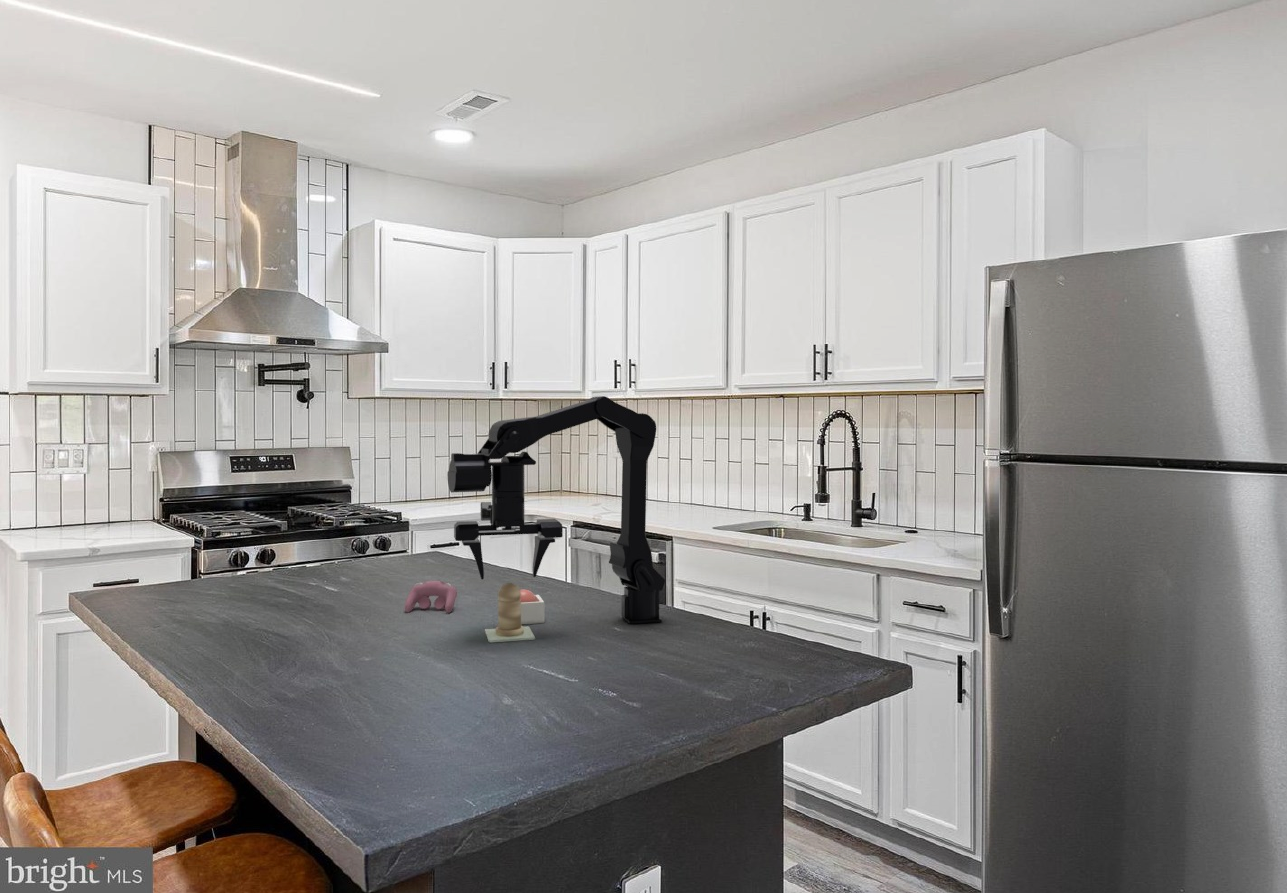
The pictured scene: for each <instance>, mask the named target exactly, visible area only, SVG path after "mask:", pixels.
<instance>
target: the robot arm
mask: <svg viewBox="0 0 1287 893" xmlns="http://www.w3.org/2000/svg"><path fill="white" fill-rule="evenodd" d="M595 420H597V421H599V422H600V423H601V424H602V425H604V426H605V427H606V428H607V429H609V430H611V431H613V432H615V440H616V446H617V449H618V452H619V454H620V458H621V461H622V463H621V464H622V467H621V468H622V470H621V471H622V472H621V473H622V474H621V513H620V514H621V515H620V516H621V518H620V520H621V521H620V535H619V537H618V539H617V541H616V542H610V543H609V550H610V557H609V561H608V564H611V568H612V571H613V572H612V573H614V574H615V575H616V576H617V577H619V580H620V584H621V585H622V586H624V587H623V594H622V595H621V596H620V597H621V600H620V601H621V604H620V605H621V608H620V609H621V617H622V619H624V620H625V621H626V622H627V623H628V624H642V623H643V624H644V623H645V624H646V623H658V622H659V623H660V622H663V618H662V617H661V616H660V591H663V589H664V586H665V584H666V578H664V577H663V576H662V575H661V574H660V573H659V572H658V571H657V570H656V569H655V568H654V562H653V554H652V548H651V547H650V545H649V541H648V538H647V536H646V527H647V526H646V524H647V523H646V519H647V518H646V517H647V479H648V478H647V477H648V476H647V474H648V473H647V470H648V459H649V457H650V455H651V453H652V452H653V448H654V445H655V441H656V435H657V423H656V421H655V420H654V419H653V417H651V415H650V414H649V415H648V413H643V412H642V413H640V412H639V413H638V412H635V411H634V410H632V409H630V408H628V407H626V406H624V405H622V404H619V403H617V402H615V401H614V400H612V399H611V398H609V397H608V396H605V395H604V396H603V395H601V396H600V395H599V396H592V397H590V398H589V399H587V400H584V401H580V402H578V403H574V404H571V405H568V406H564V407H561V408H558V409H555V410H552V411H548V412H546V413H542V414H540V415H536V416H530V417H521V418H519V417H518V418H511V419H503V420H498V421H497V422H495V423H493V424H491V427H490V428H489V431H488V435H487V436H488V438H487V440H485V442H484V444H483V445H482V447H481V448H480V449H479V451H478V452H477V453H458V452H455V453H454V452H453V453H451V454H450V456H451V457H450V462H449V466H448V471H447V473H446V474H447V485H448V489H449V492H450V493H474V492H476V493H477V492H485V491H486V488H487V487H490V486H491V501H481V502H480V521H487V522H488V521H489V524H482V525H479V523H478V522H477V521H478V520H471V521H469V520H468V521H467V520H466V521H456V523H455V524H454V525H453V538H454V540H455V541H456V542H461V543H462V545H463V546H464V547H466V546H467V547H469V549H470V551H471V553H472V556H473V557H474V558H473V559H474V561H475V564H476V566H477V570H478V573H479V578H480V580H484V578H485V577H484V576H485V575H484V574H485V569H484V561H483V555H482V554H483V553H482V545H481V544H482V542H481V541H480V539H479V538H480V537H481V536H508V535H510V536H511V535H513V536H514V535H534V548H533V550H534V551H533V556H532V557H533V561H532V577H533V578H536V576H537V574H538V571H539V569H540V566H541V562H542V560H543V558H544V555H545V554H546V552H547V550H548V548H549V546H550V544H552V543H556V539H555V538H563V532H564V531H563V524H562V523H561V522H560V520H557V519H556V518H542V519H541V518H540V519H539V518H538V519H536V523H525V466H534V465H536V464H537V461H536V460H535V459H534V458H532V457H531V455H530V454H529V452H528V451H524V450H525V449H527V448H528V447H531V446H532V445H534V444H536V443H538V441H540V440H541V439H543V438H545V437H546V436H549V435H551V434H555V433H559V432H561V431H564V430H567V429H570V428H573V427H576V426H580V425H583V424H585V423H589V422H593V421H595ZM519 452H521V453H520V454H519V455H509V454H515V453H519ZM490 460H500V461H490ZM499 528H501V529H499Z"/></svg>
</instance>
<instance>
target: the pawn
mask: <svg viewBox="0 0 1287 893" xmlns="http://www.w3.org/2000/svg"><path fill="white" fill-rule="evenodd" d="M520 590H521V589H520V587H519V586H518V585H517V584H515V583H512V582H507V583H505V584H502V586H500V587H499V590H498V592H497V596H498V600H497V625H498V626H496V627H495V628H494V629H495V634H496V635H498V636H502V637H513V636H519V635H522V634H523V633H524V627H525V626H523V624H521V599H520V596H521V592H520Z"/></svg>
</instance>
